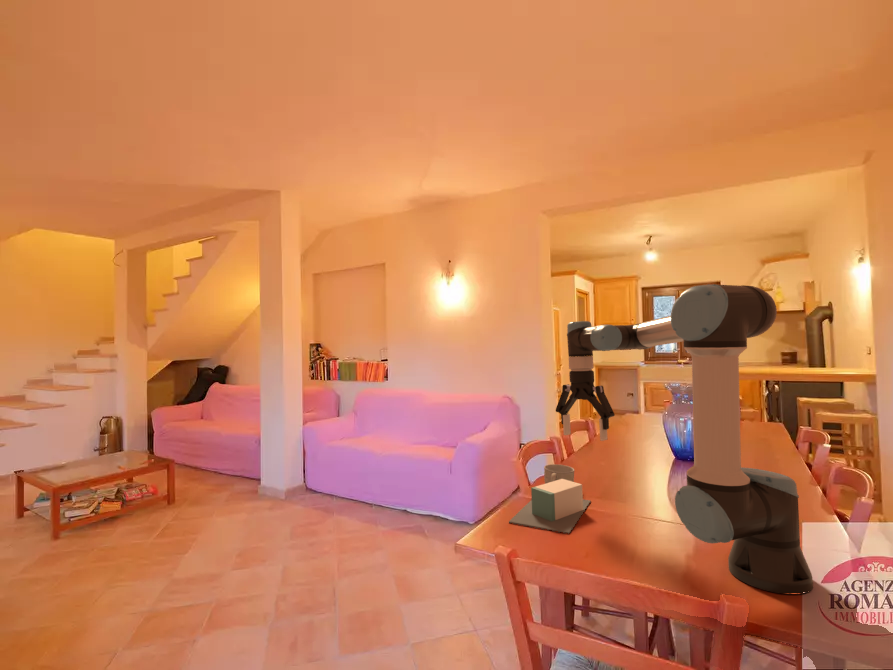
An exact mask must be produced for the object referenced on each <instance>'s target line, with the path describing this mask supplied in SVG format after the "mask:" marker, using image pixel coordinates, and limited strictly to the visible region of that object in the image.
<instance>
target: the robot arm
mask: <svg viewBox="0 0 893 670" xmlns="http://www.w3.org/2000/svg"><path fill="white" fill-rule="evenodd" d="M777 311H778V310H777V304H776V302H775V300H774V298H773V297H772V295H770V294H769V293H768V292H767V291H765V290H763V289H762V288H760V287H757V286H753V285H743V284H742V285H738V284H737V285H734V284H733V285H732V284H713V283H712V284H710V283H708V284H702V285H696V286H695V285H694V286H691V287H689V288H687V289H685V290H684V291H683V292H681V293H680V295H679V297H677V298H676V299H675V301H674V303H673V305H672V308H671V311H670V315H668V316H663V317H660V318H656V319H652V320H648V321H644V322H639V323H636V324H635V323H634V324H627V325H625V324H621V325H619V324H600V325H595V326H592V322H590V321H589V320H580V321H579V320H578V321H571V322H568V323H567V325H566V327H567V330H566V331H567V332H566V336H567V337H566V338H567V349H568V350H567V354H568V369H569V370H570V371H569V375H568V377H569V382H570V384H563V385H562V388H561V391H562V392H561V394H560V396H559V398H558V402H557V405H556V407H555V412H556V413H558V414H560V417H561V418H560V419H561V420H560V421H561V425H563V426H562V427H563V436H569V435H571V434H572V432H571V431H572V430H571V414H569V412H570V410H571V408H572V407H573V406H574V405H575V403H576V401H577V400H583V401H587V402H588V403H590V404H591V405H592V407H593V409H594V410H595V411H596V412H597V414H598V415H599V416H600V418H599V419H598V422H599V423H598V425H599V427H598V428H599V440H600V441H601V442H604V441H607V440H608V430H609V429H610V423H609V422H610V421H609V419H610V418H612V417H615V412H614V411H613V408H612V406H611V404H610V402H609V400H608V397H607V396H606V393H605V389H604V385H595V384H594V382H595V371H594V370H593V369H594V352H596V351H597V352H599V351H602V352H606V351H607V352H611V351H624V350H640V351H641V350H647V349H651V348H653V347H657V346H664V345H669V344H676V343H681V342H683V349H684V350H685V351H686V352H687V353H688V354H690V357H691V380H692V383H691V384H692V421H693V423H692V424H693V425H692V427H693V458H694V459H693V460H694V461H693V463H694V464H693V465H692V466H691V467H690V468H689V469H687V470H686V485H683V486H682V487H681V488H680V489H679V490H678V491H677V492H676V493H675V496H674V497H675V498H674V506H675V509H676V513H677V516H678V517H679V519H680V521H681V523H682V524H683V525H684V526H685V528H686V529H687V531H688V532H689V533H690V534H691V535H692V536H694V537H695V538H696V539H698V540H699V541H702V542H703V543H707V544H718V543H723V544H725V543H730V542H731V541H733V543H732V546H731V548H730V551H729V555H728V559H727V560H728V562H727V563H728V570H729V572H730V573H731V575H732V576H733V577H735V578H737V580H740V581H741V582H743V583H745V584H746V585H749V586H751V587H754V588H757V589H760V590H763V591H767V592H769V593H775V594H780V593H803V592H807V593H809V592H811V591H812V590H813V588H814V583H813V575H812V572H811V569H810V567H809V565H808V563H807V560H806V558H805V555H804V553H803V550H802V548H801V539H800V535H801V533H800V531H801V530H800V516H799V514H800V513H799V512H800V511H799V498H800V496H799V493H798V489H797V488H798V487H797V483H796V481H795V480H794V479H793V478H792V477H790V476H787V475H785V474H782V473H778V472H776V471H775V472H774V471H769V470H764V469H758V468H751V467H742V453H741V452H742V450H741V449H742V448H741V447H742V446H741V410H740V409H741V405H740V401H741V400H740V372H739V371H740V370H739V369H740V367H739V365H740V364H739V362H740V361H739V357H740V354H742V353H743V352H744V351H746V350H747V349H748V339H750V338H755V337H758V336H760V335H762V334H764V333H765V332H767V331H768V330H769V329H770V328H772V326H773V325H774V323H775V321H776V318H777V315H778V312H777ZM570 392H571V394H570ZM569 395H570V396H569ZM810 590H811V591H810ZM808 591H809V592H808Z"/></svg>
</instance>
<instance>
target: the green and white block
mask: <svg viewBox="0 0 893 670" xmlns="http://www.w3.org/2000/svg"><path fill="white" fill-rule="evenodd" d="M530 488H531V489H530V492H531V500H532V514H534V515H537V516H539V517H542V518H544V519H547V520H549V521H555V520H557V519H560V518H563V517H566V516H568V515H571V514H574V513H576V512H579V511H582V510H583V499H584V498H583V484H582V483H579V482H575V481H574V482H572V481H569V480H565V479H559V480H556V481H553V482H549V483H546V484H545V483H542V484H539V485H536V486H533V487H530Z"/></svg>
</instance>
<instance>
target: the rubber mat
mask: <svg viewBox="0 0 893 670" xmlns="http://www.w3.org/2000/svg"><path fill="white" fill-rule="evenodd" d="M591 502H592V501H591V500H589V499H584V498H583V510H582V511H579V512H576V513H574V514H571V515H568V516H566V517H563V518H560V519H557V520H555V521H549V520H547V519H544V518H542V517H539V516H537V515H534V514H532V499H530V501H529V502H527V503H526V504H525V505H524V506H523V507H522V508H521V509H519V511H518V512H517V513H516V514H515V515H514V516H513V517H512V518H511V519H510V520H508V524H511V523H513V524H512V525H516V524H518V526H522V525H523V527H527V526H529V527H528V528H533V527H535V528H534V529H538V528H541V529H540V530H544V529H547V530H546V531H549V530H552V531H551V532H555V531H558V532H557V533H560V532H563V533H562V534H566V533H568V534H567V535H570V534H571V533H572V531H573V529H574V528H575V527H576V525H577V524H578V522H579V521H580V519H581V517H582V516H583V514H584V513H583V512H585V511H586V510H587V509H588V507H589V506H590V504H591ZM589 503H590V504H589ZM587 506H588V507H587ZM585 509H586V510H585ZM581 515H582V516H581ZM579 518H580V519H579ZM577 521H578V522H577ZM575 524H576V525H575ZM573 527H574V528H573ZM571 530H572V531H571ZM569 533H570V534H569Z"/></svg>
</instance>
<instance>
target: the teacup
mask: <svg viewBox="0 0 893 670" xmlns="http://www.w3.org/2000/svg"><path fill="white" fill-rule="evenodd" d="M543 470H544V472H543V474H544V476H543V477H544V484H546V483H549V482H553V481H556V480H559V479H565V480H569V481H572V482H575V472H576V471H575V469H574V467H572V466H569V465H564V464H554V463H552V464H546V465H544V466H543Z"/></svg>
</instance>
